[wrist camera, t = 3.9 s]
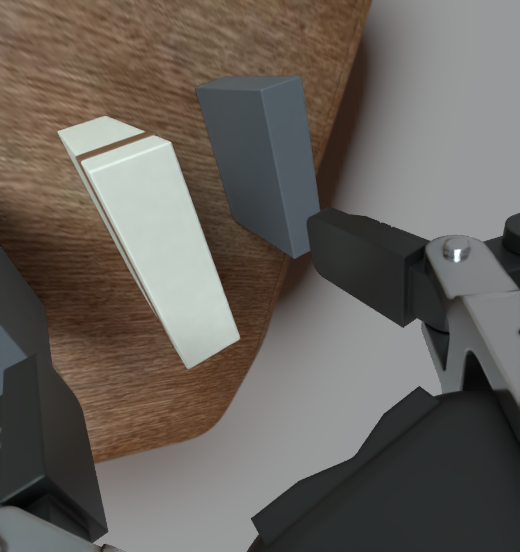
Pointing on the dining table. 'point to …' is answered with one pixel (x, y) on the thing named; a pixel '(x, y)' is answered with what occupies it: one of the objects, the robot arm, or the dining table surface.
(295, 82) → the grey parallel blocks
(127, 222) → the white box
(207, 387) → the dining table surface
